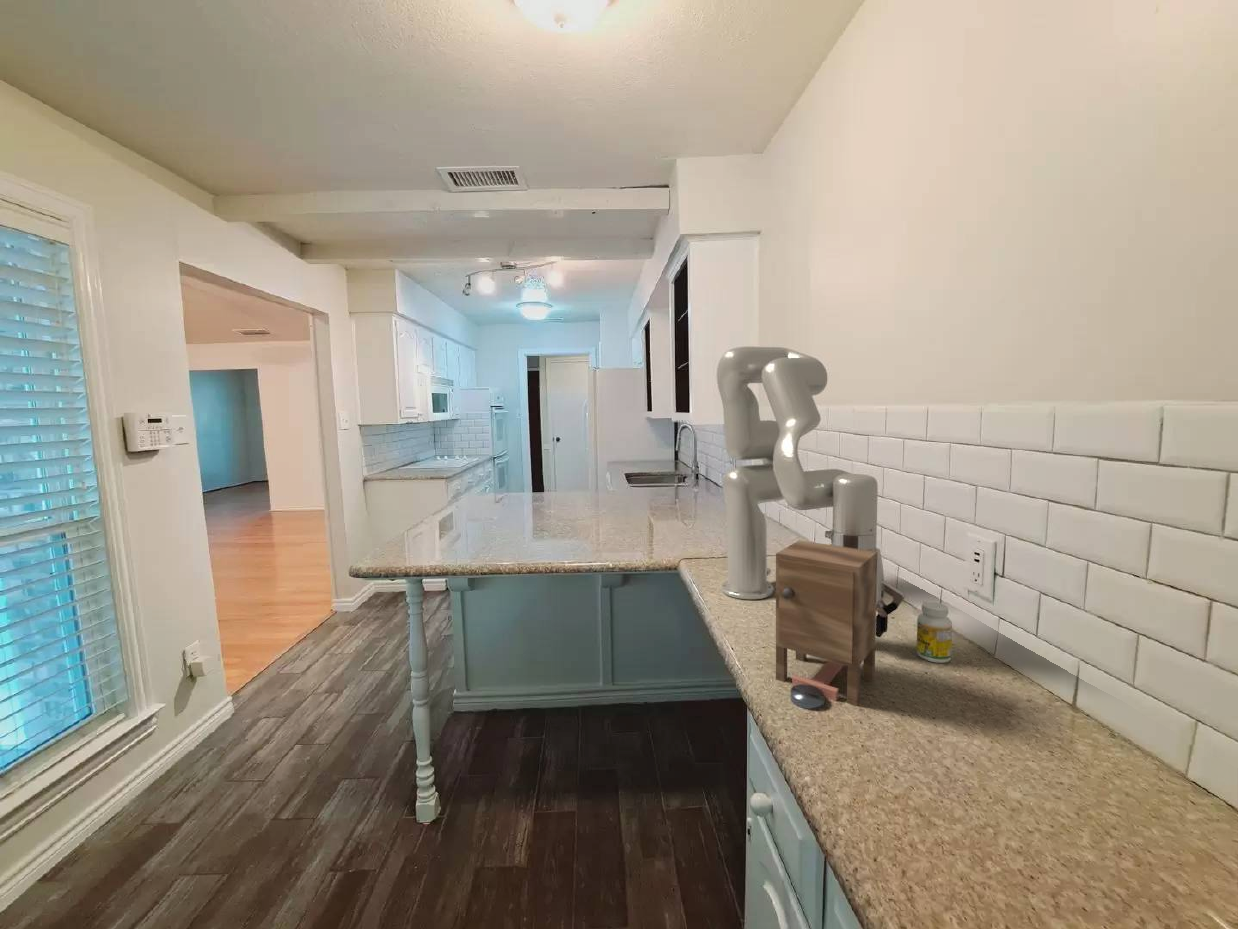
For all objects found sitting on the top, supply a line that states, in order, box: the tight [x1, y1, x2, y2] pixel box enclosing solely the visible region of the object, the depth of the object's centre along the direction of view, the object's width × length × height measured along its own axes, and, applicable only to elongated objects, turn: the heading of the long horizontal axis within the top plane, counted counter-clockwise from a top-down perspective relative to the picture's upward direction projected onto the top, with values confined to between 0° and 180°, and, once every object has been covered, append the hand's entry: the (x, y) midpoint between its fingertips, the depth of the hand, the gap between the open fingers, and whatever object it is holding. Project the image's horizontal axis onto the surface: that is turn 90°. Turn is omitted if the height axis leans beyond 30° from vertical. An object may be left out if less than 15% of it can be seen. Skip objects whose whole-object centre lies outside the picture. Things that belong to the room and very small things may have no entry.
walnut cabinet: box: [775, 540, 877, 706], centre depth 85 cm, size 12×13×22 cm
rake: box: [791, 660, 845, 702], centre depth 91 cm, size 23×7×10 cm, turn 139°
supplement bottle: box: [916, 601, 953, 664], centre depth 93 cm, size 5×5×10 cm
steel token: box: [790, 684, 826, 711], centre depth 81 cm, size 5×5×2 cm
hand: (852, 627), depth 98 cm, fingers open, 9 cm apart
